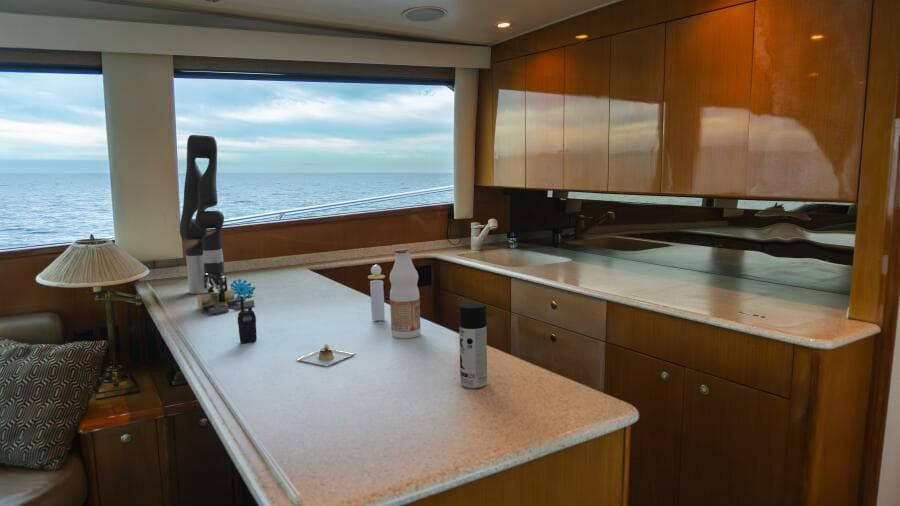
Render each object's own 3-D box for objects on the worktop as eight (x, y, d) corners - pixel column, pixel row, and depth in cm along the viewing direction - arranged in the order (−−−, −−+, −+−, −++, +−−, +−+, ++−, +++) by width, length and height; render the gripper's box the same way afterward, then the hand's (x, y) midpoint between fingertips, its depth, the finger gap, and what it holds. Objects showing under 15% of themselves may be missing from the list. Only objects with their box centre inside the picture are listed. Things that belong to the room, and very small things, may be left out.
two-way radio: (240, 344, 187) (236, 297, 185) (238, 341, 191) (234, 295, 189) (258, 341, 190) (255, 295, 188) (255, 338, 194) (252, 293, 192)
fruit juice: (397, 340, 187) (394, 252, 183) (387, 333, 195) (383, 248, 191) (425, 336, 191) (422, 249, 187) (414, 329, 199) (411, 246, 195)
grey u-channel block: (201, 312, 231) (200, 306, 231) (243, 303, 245) (243, 297, 244) (211, 315, 226) (211, 309, 226) (254, 306, 239) (254, 300, 239)
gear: (233, 297, 251) (228, 278, 256) (229, 305, 254) (224, 286, 259) (259, 296, 258) (253, 278, 263) (254, 304, 261) (249, 286, 266)
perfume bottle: (381, 323, 208) (378, 266, 205) (367, 322, 211) (364, 266, 208) (389, 319, 213) (387, 264, 210) (375, 318, 216) (373, 263, 213)
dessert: (327, 369, 163) (326, 352, 163) (295, 363, 170) (294, 346, 169) (356, 357, 173) (355, 341, 173) (325, 351, 180) (324, 336, 179)
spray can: (459, 380, 151) (457, 302, 148) (485, 378, 152) (484, 301, 149) (461, 390, 144) (459, 309, 142) (489, 388, 145) (488, 307, 142)
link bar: (198, 309, 237) (197, 294, 236) (230, 303, 248) (229, 288, 247) (202, 310, 235) (201, 295, 234) (235, 304, 246) (233, 289, 245)
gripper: (195, 260, 240) (199, 300, 243) (213, 263, 231) (216, 304, 233) (213, 258, 246) (216, 296, 248) (231, 261, 237) (234, 301, 239)
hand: (216, 300), depth 241 cm, fingers open, 8 cm apart
